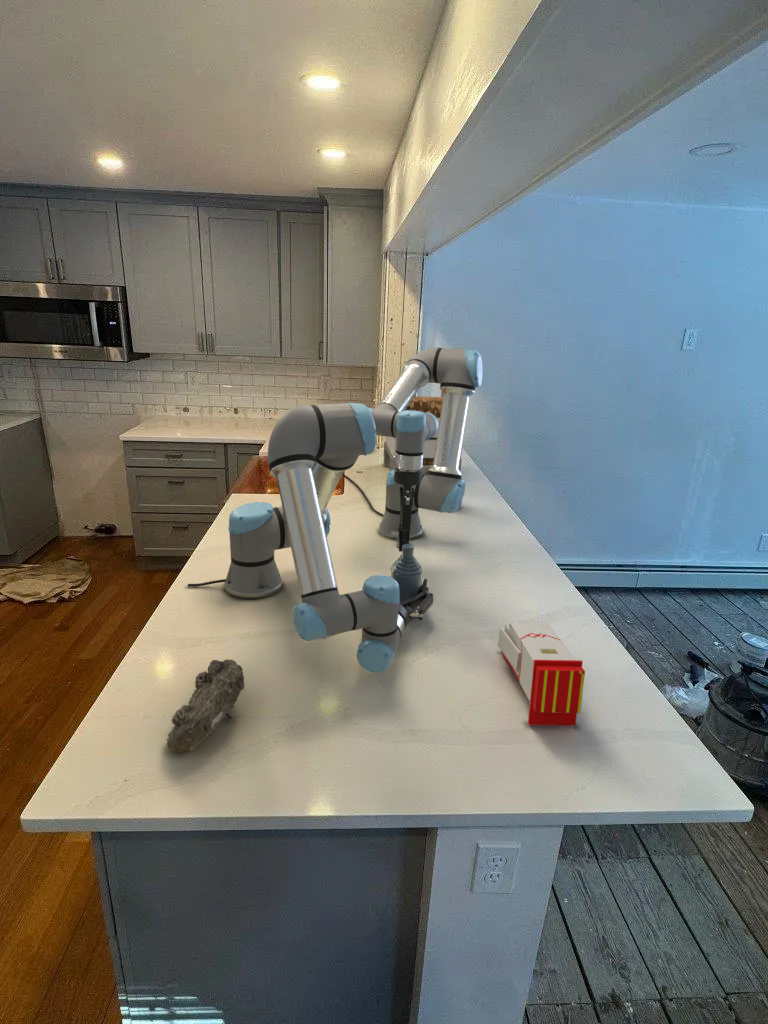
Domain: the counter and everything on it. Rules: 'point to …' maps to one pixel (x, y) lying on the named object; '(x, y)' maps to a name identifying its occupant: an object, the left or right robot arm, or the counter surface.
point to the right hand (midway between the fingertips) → (403, 547)
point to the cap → (398, 543)
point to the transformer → (433, 407)
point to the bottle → (407, 573)
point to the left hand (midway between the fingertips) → (409, 581)
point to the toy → (544, 672)
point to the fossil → (206, 705)
